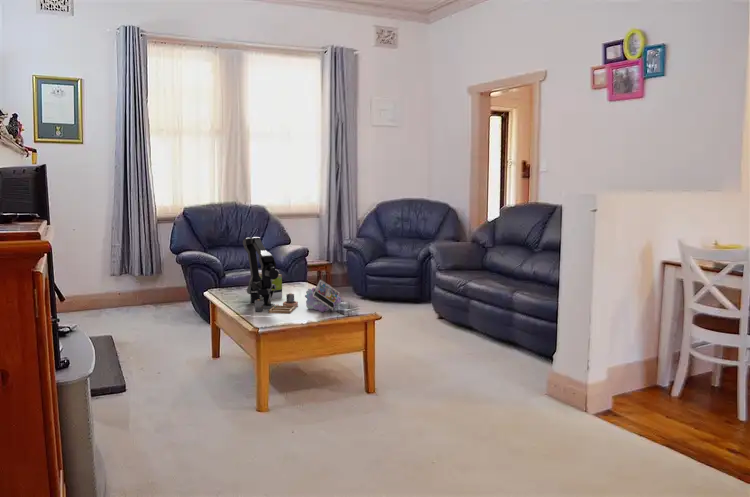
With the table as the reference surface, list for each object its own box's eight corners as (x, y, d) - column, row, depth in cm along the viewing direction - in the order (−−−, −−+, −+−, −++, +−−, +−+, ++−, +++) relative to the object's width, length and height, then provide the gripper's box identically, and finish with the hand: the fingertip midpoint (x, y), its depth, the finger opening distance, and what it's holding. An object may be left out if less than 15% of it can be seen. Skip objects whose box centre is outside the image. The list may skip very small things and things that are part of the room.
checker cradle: (263, 306, 370) (263, 302, 370) (280, 306, 369) (280, 303, 369) (257, 310, 358) (257, 306, 358) (275, 311, 357) (275, 307, 357)
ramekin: (285, 305, 372) (285, 300, 371) (298, 306, 371) (298, 301, 371) (282, 308, 364) (281, 303, 363) (295, 309, 363) (295, 303, 363)
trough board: (274, 308, 363) (274, 305, 363) (295, 309, 362) (295, 305, 362) (268, 314, 349) (268, 310, 349) (290, 314, 348) (290, 311, 348)
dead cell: (287, 305, 370) (287, 292, 369) (295, 305, 369) (294, 292, 368) (285, 307, 365) (285, 294, 364) (293, 307, 365) (293, 294, 364)
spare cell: (256, 311, 355) (256, 298, 354) (264, 312, 355) (263, 298, 354) (254, 313, 351) (253, 300, 350) (261, 313, 350) (261, 300, 350)
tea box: (257, 295, 403) (256, 272, 401) (271, 294, 409) (271, 271, 407) (268, 299, 391) (267, 275, 389) (282, 297, 397) (282, 274, 395)
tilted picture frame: (323, 295, 378) (312, 272, 369) (353, 298, 366) (342, 274, 357) (305, 318, 364) (293, 295, 355) (335, 322, 352) (323, 297, 344)
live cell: (264, 306, 366) (264, 293, 365) (271, 306, 365) (271, 293, 365) (262, 308, 361) (262, 294, 361) (270, 308, 361) (269, 295, 360)
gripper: (257, 274, 371) (257, 300, 373) (248, 279, 353) (248, 307, 355) (276, 274, 370) (276, 301, 372) (267, 279, 352) (268, 307, 354)
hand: (267, 304), depth 363 cm, fingers open, 5 cm apart
